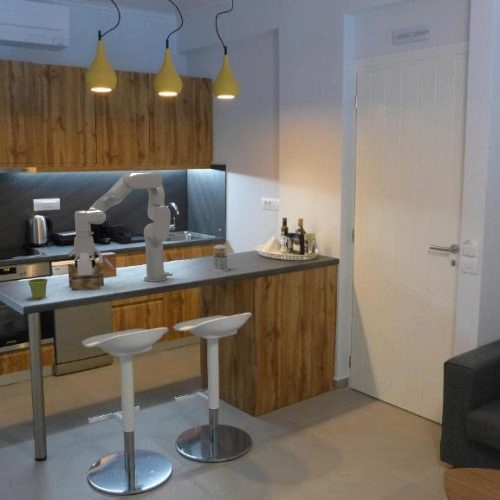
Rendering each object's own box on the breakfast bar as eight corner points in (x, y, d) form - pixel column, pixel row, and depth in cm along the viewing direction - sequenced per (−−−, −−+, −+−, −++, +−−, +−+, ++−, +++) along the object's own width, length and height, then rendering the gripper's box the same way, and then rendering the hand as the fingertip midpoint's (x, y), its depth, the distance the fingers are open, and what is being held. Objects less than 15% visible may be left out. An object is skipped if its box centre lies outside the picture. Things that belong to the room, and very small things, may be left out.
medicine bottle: (80, 272, 328) (78, 250, 326) (93, 272, 328) (92, 250, 326) (77, 275, 321) (76, 252, 319) (91, 275, 321) (90, 252, 319)
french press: (226, 267, 378) (225, 227, 373) (231, 271, 367) (231, 229, 362) (210, 269, 375) (209, 228, 370) (215, 272, 364) (214, 230, 360)
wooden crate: (103, 284, 335) (102, 262, 333) (103, 288, 325) (102, 266, 323) (69, 286, 331) (68, 264, 329) (68, 290, 321) (66, 267, 319)
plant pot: (39, 300, 301) (38, 283, 299) (24, 298, 304) (23, 281, 303) (53, 296, 309) (51, 279, 308) (38, 294, 313) (37, 277, 311)
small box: (103, 277, 353) (102, 254, 351) (99, 275, 358) (98, 253, 356) (116, 275, 358) (115, 253, 355) (112, 273, 363) (111, 251, 361)
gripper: (100, 232, 327) (102, 265, 330) (66, 234, 323) (68, 267, 326) (100, 234, 319) (102, 268, 322) (65, 236, 316) (67, 270, 319)
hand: (85, 267), depth 324 cm, fingers closed on medicine bottle, 7 cm apart
